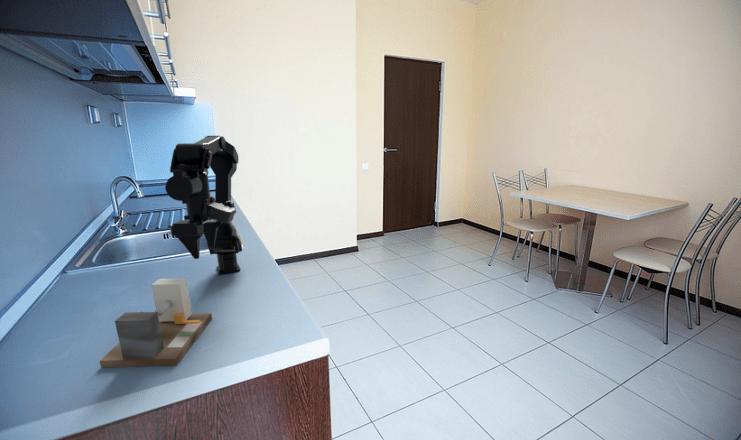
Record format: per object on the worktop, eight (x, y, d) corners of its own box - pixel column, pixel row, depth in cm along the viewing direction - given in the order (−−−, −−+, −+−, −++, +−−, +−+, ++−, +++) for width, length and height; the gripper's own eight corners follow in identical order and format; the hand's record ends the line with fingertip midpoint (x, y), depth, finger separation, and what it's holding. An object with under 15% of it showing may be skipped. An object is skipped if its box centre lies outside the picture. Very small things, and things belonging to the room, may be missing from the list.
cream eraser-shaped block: (165, 314, 79) (159, 278, 76) (191, 313, 79) (186, 278, 77) (147, 331, 72) (140, 293, 70) (176, 331, 72) (169, 292, 70)
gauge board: (151, 320, 80) (144, 283, 78) (212, 318, 81) (207, 282, 78) (101, 367, 64) (90, 323, 62) (176, 365, 65) (168, 321, 62)
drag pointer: (177, 321, 76) (175, 313, 75) (200, 321, 76) (199, 312, 75) (174, 324, 75) (173, 315, 74) (198, 323, 75) (197, 315, 74)
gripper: (214, 200, 77) (222, 264, 80) (242, 188, 95) (247, 241, 99) (164, 200, 76) (174, 265, 80) (201, 189, 95) (208, 242, 98)
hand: (204, 252), depth 89 cm, fingers open, 9 cm apart
